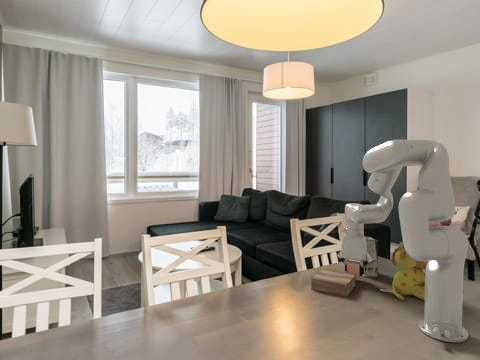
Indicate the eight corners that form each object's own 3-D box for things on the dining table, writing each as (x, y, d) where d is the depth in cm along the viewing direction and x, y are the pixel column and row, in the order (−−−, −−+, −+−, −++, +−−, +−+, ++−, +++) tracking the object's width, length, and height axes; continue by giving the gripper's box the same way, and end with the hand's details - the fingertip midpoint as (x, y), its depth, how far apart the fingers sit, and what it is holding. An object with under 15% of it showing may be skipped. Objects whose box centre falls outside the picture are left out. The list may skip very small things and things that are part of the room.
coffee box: (378, 276, 143) (378, 240, 143) (363, 277, 143) (364, 241, 143) (370, 270, 152) (370, 236, 152) (356, 270, 153) (356, 236, 152)
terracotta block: (359, 278, 136) (359, 264, 135) (347, 276, 138) (346, 262, 138) (361, 275, 140) (361, 261, 140) (350, 273, 143) (350, 259, 142)
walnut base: (346, 296, 123) (346, 284, 122) (311, 289, 130) (311, 278, 130) (355, 284, 134) (355, 274, 134) (322, 278, 142) (322, 268, 142)
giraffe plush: (459, 304, 115) (460, 251, 114) (390, 303, 117) (390, 250, 116) (430, 283, 135) (431, 238, 134) (372, 282, 137) (372, 237, 136)
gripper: (331, 232, 140) (332, 273, 141) (373, 236, 131) (373, 280, 131) (336, 229, 146) (337, 269, 147) (377, 232, 137) (377, 275, 138)
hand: (354, 274), depth 139 cm, fingers closed on terracotta block, 4 cm apart
